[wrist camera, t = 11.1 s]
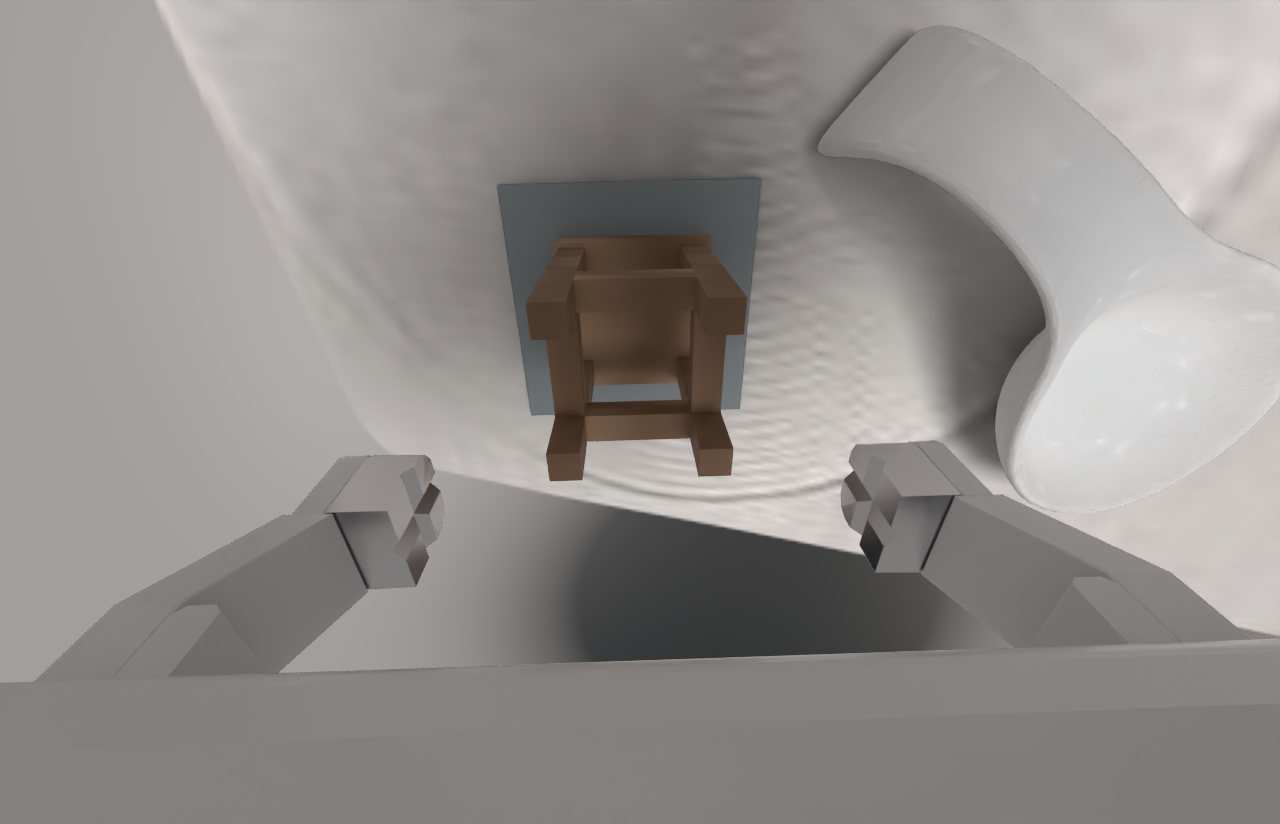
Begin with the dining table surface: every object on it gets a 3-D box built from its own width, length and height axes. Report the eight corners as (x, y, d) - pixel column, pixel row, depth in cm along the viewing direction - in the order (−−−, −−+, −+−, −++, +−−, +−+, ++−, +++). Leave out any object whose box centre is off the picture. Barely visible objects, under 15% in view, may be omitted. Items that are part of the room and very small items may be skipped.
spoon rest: (1251, 356, 23) (1479, 435, 17) (1026, 504, 28) (1143, 610, 21) (995, -72, 16) (1243, -213, 9) (736, 227, 20) (788, 268, 14)
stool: (569, 374, 22) (544, 486, 15) (556, 237, 19) (516, 295, 12) (700, 370, 22) (736, 480, 15) (707, 233, 19) (756, 288, 12)
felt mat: (499, 184, 19) (496, 185, 18) (758, 178, 19) (761, 178, 18) (532, 411, 23) (531, 415, 23) (737, 404, 24) (739, 408, 23)
